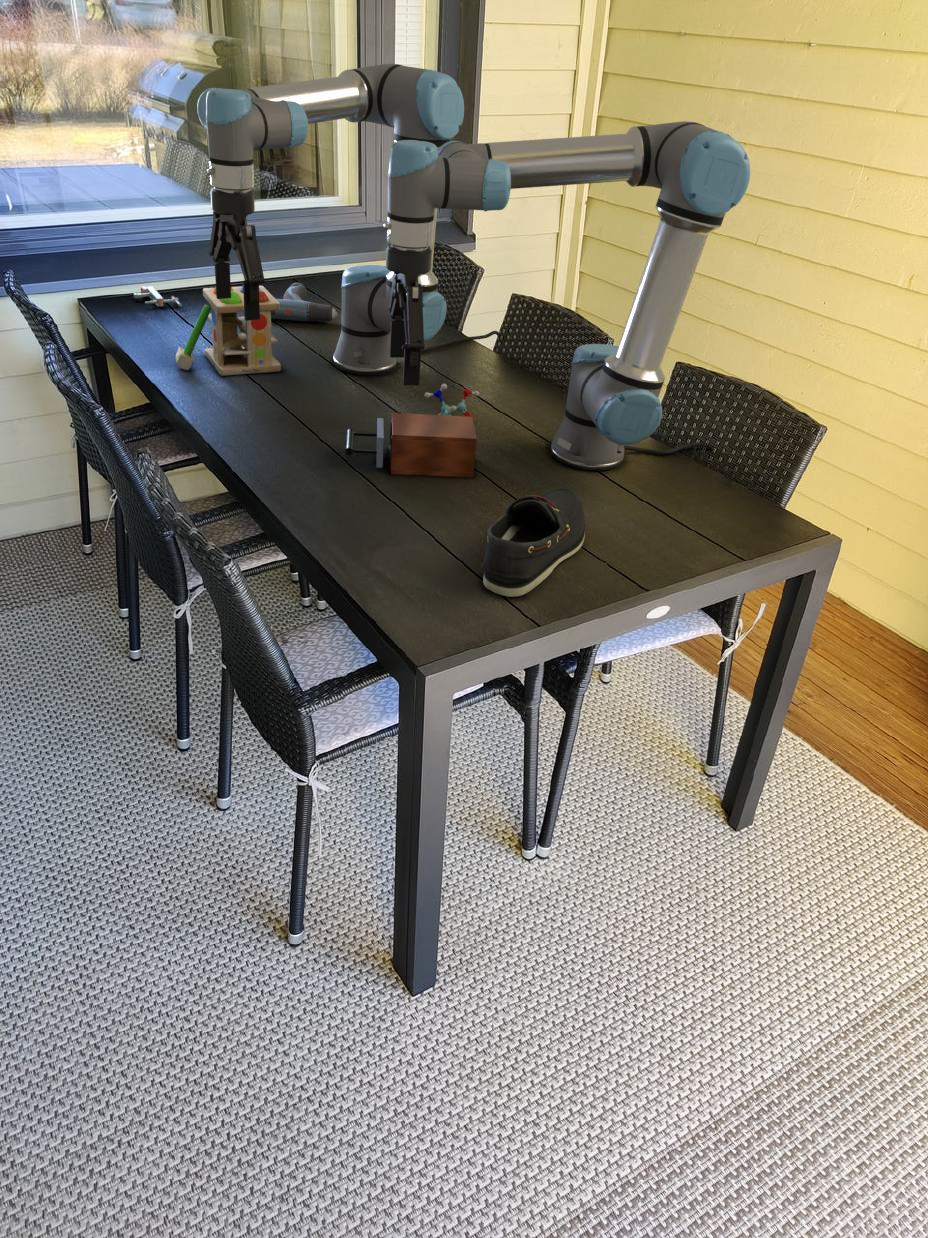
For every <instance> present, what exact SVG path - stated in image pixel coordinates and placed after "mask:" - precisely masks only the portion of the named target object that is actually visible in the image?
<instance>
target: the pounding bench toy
mask: <svg viewBox="0 0 928 1238" xmlns="http://www.w3.org/2000/svg"><path fill="white" fill-rule="evenodd" d="M202 296H203V298H204V299H205V300H206V301H207V302H208V304H209V305H208V304H204V305H203V307H202V309H201V312H200V313H199V316H198V318H197V320H196V322H195V324H194V327H193V329H192V331H191V332H190V333H191V334H190V336H189V338H188V340H187V343H186V344H185V347H184V348H182V347H180V346H179V347H178V349H177V351H176V354H175V357H174V358H175V362H176V365H177V366H178V368H179V369H182V370H185V371H189V370H190V369H191V367H192V365H193V363H194V356H193V351H194V348H195V347H196V345H197V342H198V340H199V337H200V336H201V333H202V332H203V329H204V326H205V325H206V322H207V320H209V321H210V322H211V336H212V337H211V338H212V339H211V340H212V348H205V349H204V352H205V353H204V355H205V357H206V359H208V361H209V363H210V364H211V365H212V366H213V367H214V369H215V370H216V371H217V372H218V374H219V375H220V376H222V377H223V376H234V375H235V376H236V375H246V374H247V375H250V374H262V373H275V372H281V370H282V364H281V363H280V362H279V360H278V359H277V358H276V357H275V356H274V355H273V348H272V347H273V345H272V344H276V343H278V342H279V341H278V339H277V338H276V337H275V336H274V334H272V318H271V310H280V303H279V302H278V301H277V300H276V299H277V298H276V297H274V296H273V295H272V294H271V293H270V292H269V290H268V289H267V288H266V287H264V285H259V306H260V319H258V320H249V321H246V320H245V318H244V316H238V313H244V294H243V285H242V286H231V298H226V299H217V298H216V286H215V287H204V288H203V289H202ZM238 329H239V331H240V333H239V334H238Z"/></svg>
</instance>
